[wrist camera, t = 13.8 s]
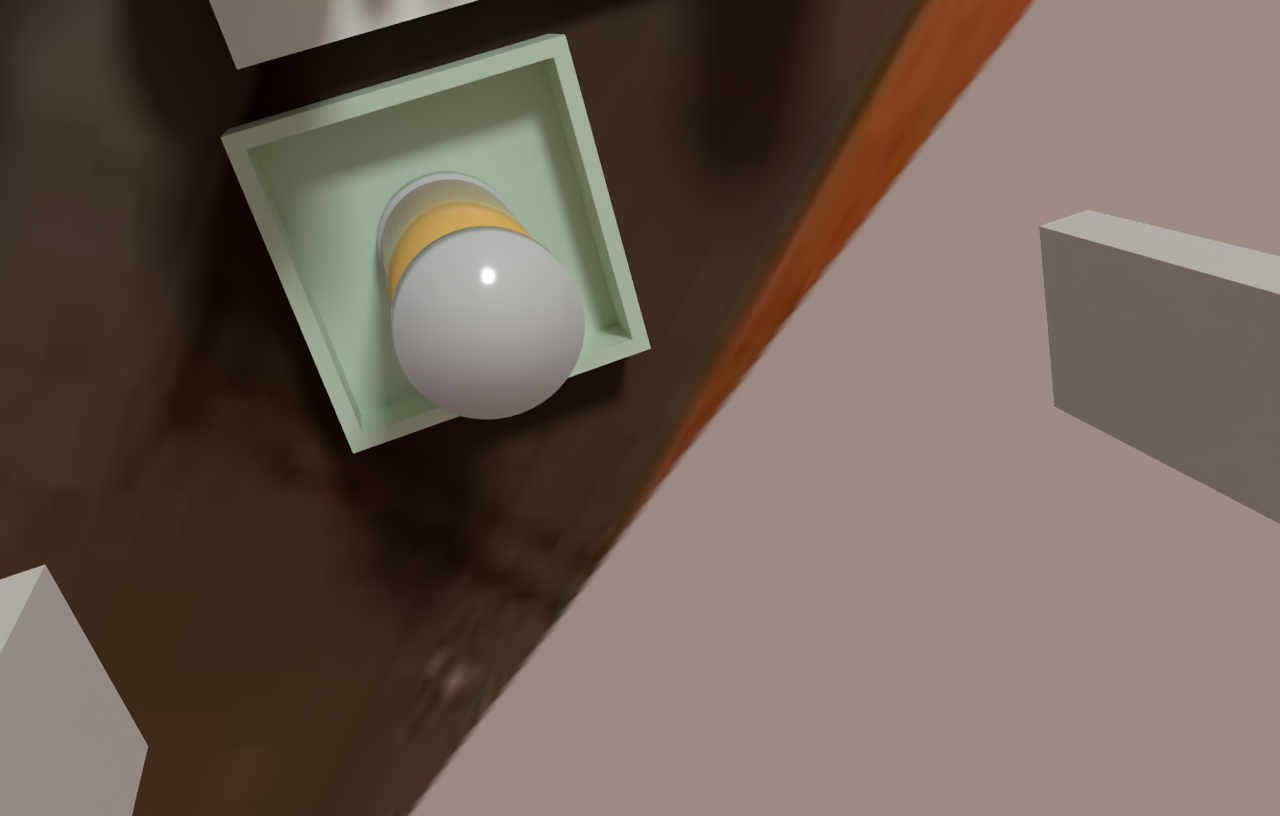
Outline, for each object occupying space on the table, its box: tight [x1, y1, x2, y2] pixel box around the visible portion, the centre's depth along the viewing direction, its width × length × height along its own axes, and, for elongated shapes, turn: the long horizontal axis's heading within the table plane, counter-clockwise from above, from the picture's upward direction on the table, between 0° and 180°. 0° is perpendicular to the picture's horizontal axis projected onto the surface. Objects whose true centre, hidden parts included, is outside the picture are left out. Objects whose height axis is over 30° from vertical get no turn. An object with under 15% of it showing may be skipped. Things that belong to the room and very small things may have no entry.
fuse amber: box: [377, 171, 585, 419], centre depth 28 cm, size 4×4×10 cm
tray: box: [220, 34, 651, 453], centre depth 32 cm, size 10×10×2 cm
